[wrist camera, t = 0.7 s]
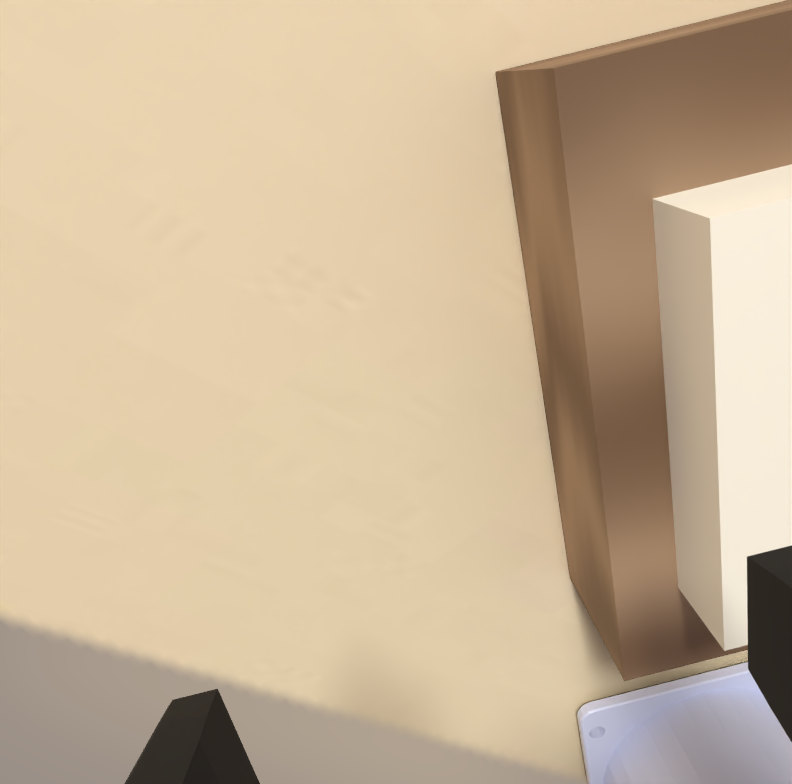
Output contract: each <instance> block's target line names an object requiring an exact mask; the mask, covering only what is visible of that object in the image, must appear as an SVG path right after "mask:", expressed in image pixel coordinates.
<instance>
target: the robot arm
mask: <svg viewBox="0 0 792 784" xmlns="http://www.w3.org/2000/svg"><path fill="white" fill-rule="evenodd" d="M747 619H748V662H745V663H741V664H737V665H733V666H729V667H725V668H721V669H718V670H714V671H710V672H706V673H702V674H698V675H694V676H690V677H686V678H682V679H678V680H674V681H670V682H667V683H663V684H659V685H655V686H651V687H647V688H643V689H639V690H635V691H631V692H627V693H623V694H619V695H615V696H612V697H608V698H604V699H600V700H596V701H592V702H589V703H586V704H584V705H583V706H582V707H581V708H580V709H579V711H578V713H577V719H578V726H579V732H580V738H581V744H582V751H583V757H584V763H585V770H586V776H587V782H588V784H792V546H787V547H783V548H779V549H775V550H771V551H767V552H763V553H759V554H755V555H751V556H747ZM125 784H260V783H259V781H258V779H257V776H256V774H255V772H254V770H253V767H252V765H251V763H250V761H249V759H248V756H247V754H246V752H245V750H244V747H243V745H242V743H241V740H240V738H239V736H238V734H237V731H236V729H235V727H234V725H233V722H232V720H231V718H230V716H229V713H228V711H227V709H226V707H225V705H224V702H223V700H222V698H221V696H220V693H219V691H218V689H215V690H211V691H207V692H203V693H199V694H195V695H191V696H187V697H183V698H179V699H175V700H173V701H172V702H171V704H170V705H169V706H168V708H167V710H166V711H165V713H164V715H163V717H162V718H161V720H160V722H159V723H158V725H157V727H156V729H155V731H154V733H153V734H152V736H151V738H150V739H149V741H148V743H147V745H146V747H145V749H144V750H143V752H142V754H141V756H140V757H139V759H138V761H137V763H136V764H135V766H134V768H133V770H132V772H131V773H130V775H129V777H128V779H127V780H126V782H125Z"/></svg>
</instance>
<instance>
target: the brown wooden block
mask: <svg viewBox="0 0 792 784" xmlns="http://www.w3.org/2000/svg"><path fill="white" fill-rule="evenodd" d="M496 79H497V85H498V92H499V99H500V106H501V113H502V119H503V126H504V133H505V140H506V146H507V153H508V160H509V167H510V174H511V180H512V187H513V194H514V201H515V207H516V214H517V221H518V228H519V235H520V241H521V248H522V255H523V262H524V268H525V275H526V282H527V289H528V296H529V302H530V309H531V316H532V323H533V329H534V336H535V343H536V350H537V357H538V363H539V370H540V377H541V384H542V390H543V397H544V404H545V411H546V417H547V424H548V431H549V438H550V445H551V451H552V458H553V465H554V472H555V478H556V485H557V492H558V499H559V506H560V512H561V519H562V526H563V533H564V539H565V546H566V553H567V560H568V567H569V573H570V578H571V580H572V582H573V584H574V586H575V587H576V589H577V591H578V593H579V595H580V597H581V599H582V601H583V603H584V605H585V607H586V609H587V610H588V612H589V614H590V616H591V618H592V620H593V622H594V624H595V626H596V628H597V630H598V631H599V633H600V635H601V637H602V639H603V641H604V643H605V645H606V647H607V649H608V651H609V652H610V654H611V656H612V658H613V660H614V662H615V664H616V666H617V668H618V670H619V672H620V674H621V675H622V677H623V679H624V681H626V680H630V679H634V678H638V677H642V676H646V675H650V674H654V673H657V672H661V671H665V670H669V669H673V668H677V667H681V666H685V665H689V664H693V663H697V662H701V661H705V660H709V659H713V658H716V657H720V656H724V655H728V654H732V653H736V652H740V651H744V650H748V645H746V646H742V647H738V648H734V649H730V650H726V651H724V650H723V648H722V647H721V646H720V644H719V643H718V642H717V640H716V639H715V637H714V636H713V635H712V633H711V632H710V631H709V629H708V628H707V626H706V625H705V624H704V622H703V621H702V620H701V618H700V617H699V615H698V614H697V613H696V611H695V610H694V609H693V607H692V606H691V604H690V603H689V602H688V600H687V599H686V598H685V596H684V595H683V593H682V592H681V591H680V589H679V588H678V577H677V562H676V547H675V532H674V517H673V502H672V487H671V472H670V457H669V442H668V427H667V412H666V397H665V382H664V367H663V352H662V336H661V321H660V306H659V291H658V276H657V261H656V246H655V231H654V216H653V201H652V199H654V198H658V197H662V196H666V195H670V194H674V193H678V192H682V191H686V190H690V189H694V188H698V187H702V186H706V185H710V184H714V183H718V182H722V181H726V180H731V179H735V178H739V177H743V176H747V175H751V174H755V173H759V172H763V171H767V170H771V169H775V168H779V167H783V166H787V165H791V164H792V0H787V1H783V2H779V3H775V4H771V5H766V6H762V7H758V8H754V9H750V10H746V11H742V12H738V13H734V14H730V15H726V16H722V17H718V18H713V19H709V20H705V21H701V22H697V23H693V24H689V25H685V26H681V27H677V28H673V29H669V30H664V31H660V32H656V33H652V34H648V35H644V36H640V37H636V38H632V39H628V40H624V41H620V42H616V43H611V44H607V45H603V46H599V47H595V48H591V49H587V50H583V51H579V52H575V53H571V54H567V55H562V56H558V57H554V58H550V59H546V60H542V61H538V62H534V63H530V64H526V65H522V66H518V67H514V68H509V69H505V70H501V71H497V72H496Z"/></svg>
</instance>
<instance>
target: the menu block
mask: <svg viewBox="0 0 792 784" xmlns="http://www.w3.org/2000/svg"><path fill="white" fill-rule="evenodd" d="M652 201H653V216H654V231H655V246H656V261H657V276H658V291H659V306H660V321H661V336H662V352H663V367H664V382H665V397H666V412H667V427H668V442H669V457H670V472H671V487H672V502H673V517H674V532H675V547H676V562H677V577H678V588H679V589H680V591H681V592H682V593H683V595H684V596H685V598H686V599H687V600H688V602H689V603H690V604H691V606H692V607H693V609H694V610H695V611H696V613H697V614H698V615H699V617H700V618H701V620H702V621H703V622H704V624H705V625H706V626H707V628H708V629H709V631H710V632H711V633H712V635H713V636H714V637H715V639H716V640H717V642H718V643H719V644H720V646H721V647H722V648H723V650H724V651H726V650H730V649H734V648H738V647H742V646H746V645H748V619H747V556H751V555H755V554H759V553H763V552H767V551H771V550H775V549H779V548H783V547H787V546H792V164H791V165H787V166H783V167H779V168H775V169H771V170H767V171H763V172H759V173H755V174H751V175H747V176H743V177H739V178H735V179H731V180H726V181H722V182H718V183H714V184H710V185H706V186H702V187H698V188H694V189H690V190H686V191H682V192H678V193H674V194H670V195H666V196H662V197H658V198H654V199H652Z"/></svg>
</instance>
